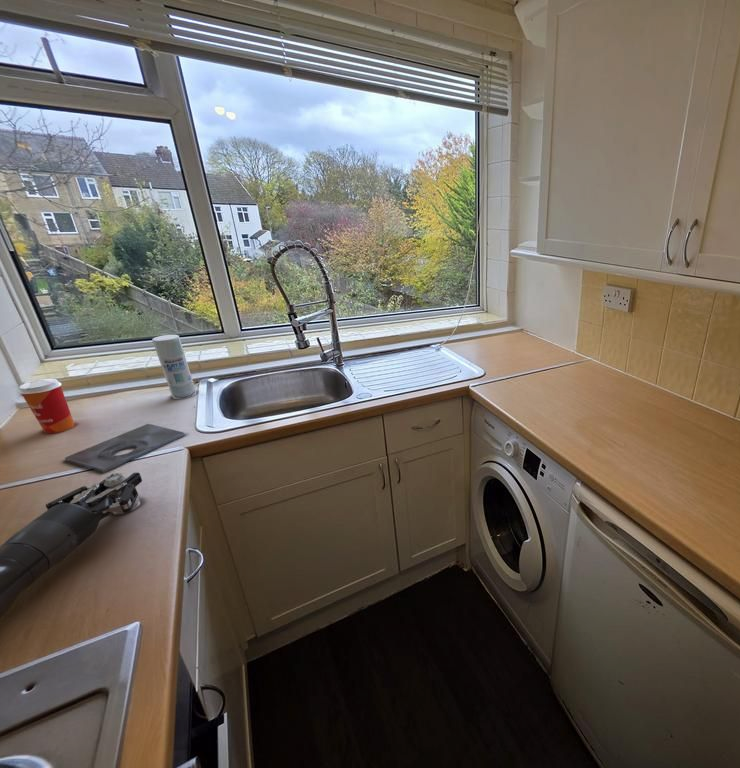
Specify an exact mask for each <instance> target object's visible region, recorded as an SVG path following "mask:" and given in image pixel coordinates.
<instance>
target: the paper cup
mask: <svg viewBox="0 0 740 768" xmlns="http://www.w3.org/2000/svg"><path fill="white" fill-rule="evenodd" d="M62 385H63V383H62V382H60V381H59V380H58V379H56V378H42V379H38V380H33V381H32V382H31V381H28V382H26V383H25V382H24V383H22V384H21V385H19V386H18V388H19V390H18V394H20V395H22V397H23V399H24V401H25V402H26V404H27V405H28V407H29V409H30V411H31V412H32V414H33V415H34V417H35V419H36V421H37V422H38V423H39V425H40V427H41V428H42V430H43V431H44V433H45V434H57V433H62V432H65V431H68V430H70V429H72V428H73V427H75V422H74V418H73V416H72V412H71V410H70V408H69V405H68V402H67V399H66V396H65V394H64V391H63V388H62Z"/></svg>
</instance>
